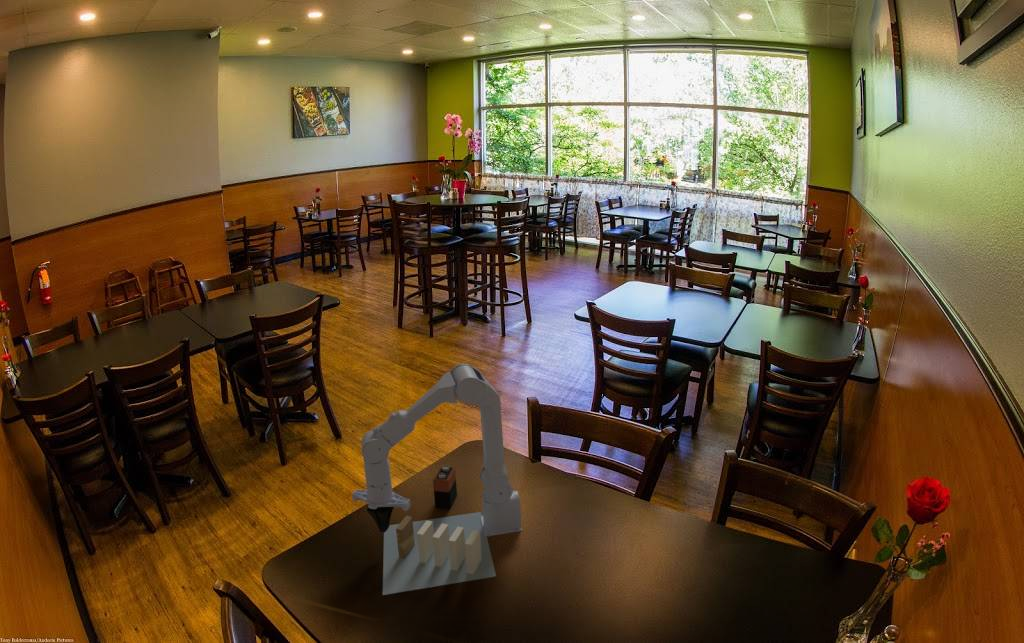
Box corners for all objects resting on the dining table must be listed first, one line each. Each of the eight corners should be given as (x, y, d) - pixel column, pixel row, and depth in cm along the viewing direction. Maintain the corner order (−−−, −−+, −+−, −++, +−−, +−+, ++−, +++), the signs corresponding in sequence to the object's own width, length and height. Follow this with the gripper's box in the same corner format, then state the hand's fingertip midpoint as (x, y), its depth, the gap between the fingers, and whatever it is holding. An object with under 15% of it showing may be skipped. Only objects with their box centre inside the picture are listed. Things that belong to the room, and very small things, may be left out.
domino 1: (419, 562, 137) (416, 533, 134) (429, 548, 141) (426, 520, 139) (425, 563, 136) (423, 534, 134) (435, 549, 141) (432, 521, 138)
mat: (481, 513, 154) (480, 511, 154) (496, 577, 132) (496, 576, 132) (384, 527, 150) (384, 526, 150) (382, 596, 127) (382, 595, 127)
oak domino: (398, 557, 138) (395, 528, 136) (409, 543, 143) (406, 515, 140) (404, 558, 138) (401, 530, 136) (414, 544, 142) (412, 517, 140)
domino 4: (466, 573, 133) (464, 543, 130) (475, 558, 137) (473, 529, 135) (473, 574, 132) (471, 545, 130) (481, 559, 137) (480, 530, 134)
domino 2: (435, 565, 135) (432, 536, 133) (444, 551, 140) (442, 523, 137) (441, 567, 135) (438, 538, 132) (450, 552, 139) (448, 524, 137)
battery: (457, 495, 162) (455, 464, 159) (450, 510, 156) (447, 478, 153) (442, 494, 163) (440, 462, 160) (434, 509, 157) (431, 476, 153)
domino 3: (450, 569, 134) (448, 540, 132) (459, 554, 139) (457, 526, 136) (457, 570, 134) (455, 541, 131) (465, 556, 138) (463, 527, 136)
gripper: (341, 484, 135) (348, 534, 139) (397, 495, 131) (402, 546, 135) (359, 468, 141) (365, 516, 146) (412, 478, 137) (417, 527, 141)
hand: (384, 529), depth 141 cm, fingers closed
